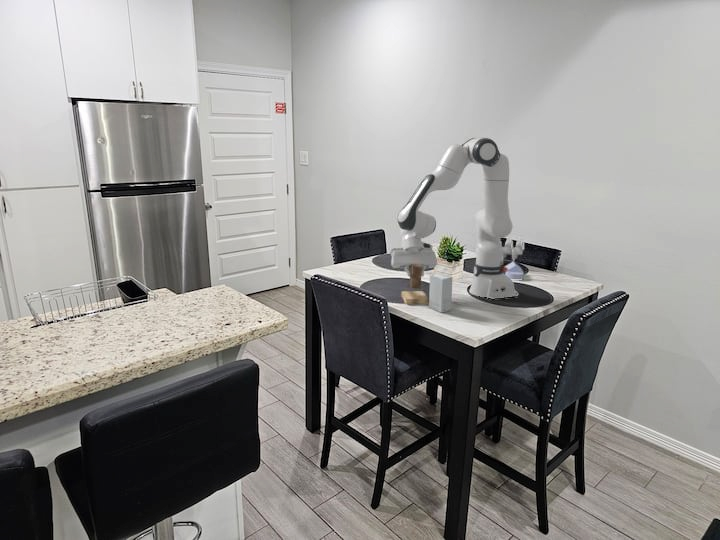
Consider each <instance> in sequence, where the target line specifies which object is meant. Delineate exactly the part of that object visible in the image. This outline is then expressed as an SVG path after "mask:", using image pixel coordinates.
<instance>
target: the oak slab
mask: <svg viewBox="0 0 720 540" xmlns="http://www.w3.org/2000/svg"><path fill="white" fill-rule="evenodd" d="M400 293H401V294H400V297H402V298H403V299H402V298H401V299H402V301H403V300H404V301H403V302H404V304H405V305H406V304H413V305H429V296H427V294H426V293H425V292H424V290H417V291H415V290H413V291H412V290H409V291H408V290H406V291H403V290H402V291H401V292H400Z"/></svg>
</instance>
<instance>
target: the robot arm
mask: <svg viewBox="0 0 720 540" xmlns="http://www.w3.org/2000/svg"><path fill="white" fill-rule="evenodd" d="M509 162H510V161H509V157H508V156H507V155H505V154H503V153H500V150H499V147H498V145H497V144H496V142H495V141H494V140H493V139H491V138H488V137H480V136H479V137H472V138H470V139H468V140H467V141H465V142H464V143H462V144H458V143H455V144H451V145H450V146H449V147H448V148H447V149H446V151H445V152H444V154H443V155H442V157H441V159H440V161H439V162H438V165H437V166H436V168H435V169H434V171H433V172H431V173H430V174H427V175H425V176H424V178H423V179H422V180H421V182H420V183H419V185H418V186H417V187H416V189H415V191H414V192H413V193H412V196H410V198H409V199H408V201H407V203H406V204H405V205H404V206H403V208H401V210H400V211H399V213H398V214H397V224H398V226H399V233H400V234H399V235H400V238H401V248H400V247H398V248H394V247H393V248H392V249H391V250H389V253H390V257H391V262H390V263H391V267H392V268H393V269H403V270H404V272H406V274H407V277H410V276H412V271H410V270H409V269H411V264H420V265H421V266H422V275H421V277H424V276H425V270H426V269H435V268H436V266H437V265H438V259H437V256H436V253H435V251H434V250H433V244H430V243H426V242H424V241H422V239H425V238H427V237H429V236H430V235H432V234H434V232H435V231H436V227H437V221H436V218H435V217H434V216H432V215H430V214H428V213H426V212H423V211H420V207H421V206H422V204H423V202H424V201H425V200H426V198H427V197H428V196H429V194H431V193H432V192H435V191H447V190H450V189H453V188H454V187H456V185H457V184H458V182H459V181H460V179H461V177H462V175H463V172H464V171H465V169H466V167H467V166H468V165H469V164H470V163H473V164H475V165H481V166H482V168H483V169H482V170H483V177H482V189H481V199H482V202H483V208H482V209H479V210H478V211H477V212H476V213H475V214H474V218H473V219H474V221H473V222H474V224H475V225H474V226H475V229H476V230H475V235H476V243H477V244H476V247H477V254H476V259H475V262H474V267H473V278H472V282H471V286H470V289H469V290H468V291H469V294H471V295H473V296H475V297H479V296H480V298H484V297H487V298H486V299H488V298H491V299H495V298H504V297H512V296H518V295H519V292H518V291H517V290H516V289H515V283H514V282H513V281H514V280H511V279H510V278H509V277H507V276H506V275H505V273H506V272H507V271H508V268H506V267H505V265H503V266H502V265H501V255H502V247H503V246H502V243H500V242H501V239H504V238H507V237H509V236H510V234H511V233H512V230H513V222H512V220H511V215H510V208H509V200H508V199H509V187H510V186H509V183H510V163H509ZM516 293H517V294H516ZM519 296H520V295H519ZM491 299H490V300H491ZM495 300H496V299H495Z"/></svg>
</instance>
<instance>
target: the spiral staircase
mask: <svg viewBox="0 0 720 540" xmlns="http://www.w3.org/2000/svg"><path fill="white" fill-rule="evenodd" d="M500 243H501V244H502V243H503V242H502V241H501V240H500ZM524 250H525V242H524V237H523V236H519V237H518V238H517V241H516V244H515V247H514V241H513V240H512V236H511V235H508V236H507V237H506V241H505V244H504V246H502V255H501V264H500V265H503V266H504V261H505V259H506V258H507V256H508V255H511V263H512V262H515V261H516V259H518V256H519V255H520V256H523V252H524ZM475 254H476V255H477V246H476V250H475Z"/></svg>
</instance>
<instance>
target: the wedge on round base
mask: <svg viewBox="0 0 720 540" xmlns="http://www.w3.org/2000/svg"><path fill="white" fill-rule="evenodd" d="M504 267H506V268H508V271H507V272H504V274H505V275H506V276H507V277H509V278H510V279H524V276H525V275H524V271H523V269H522V267H521V266H520V265H518V264H517V263H516V262H515V261H514V262H512V261H511V262H510V263H508V264H506V265H504Z"/></svg>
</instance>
